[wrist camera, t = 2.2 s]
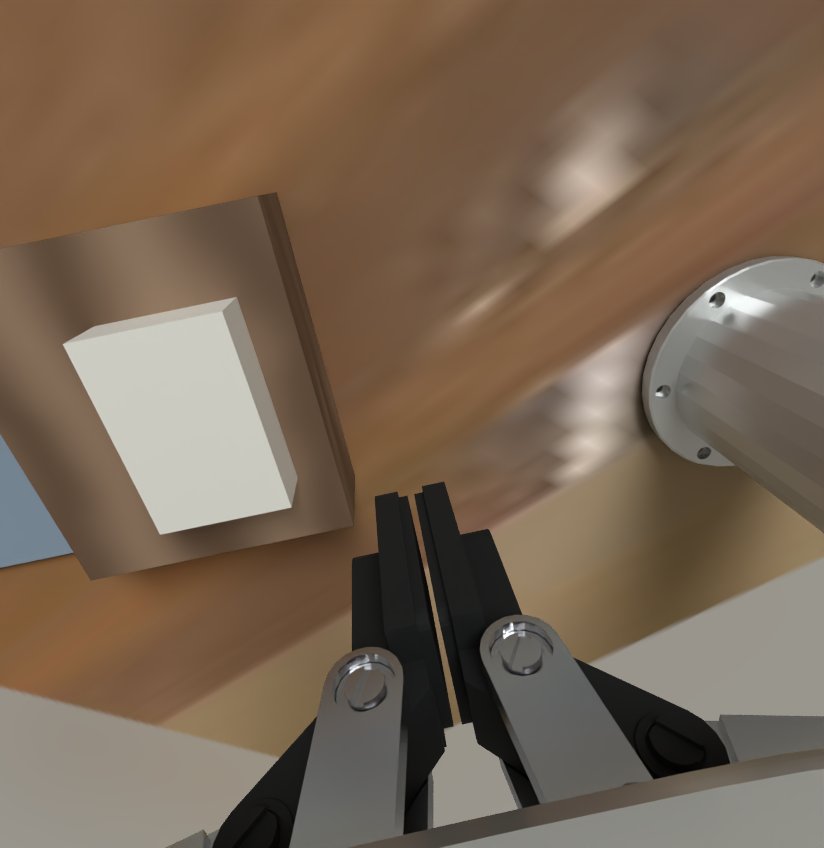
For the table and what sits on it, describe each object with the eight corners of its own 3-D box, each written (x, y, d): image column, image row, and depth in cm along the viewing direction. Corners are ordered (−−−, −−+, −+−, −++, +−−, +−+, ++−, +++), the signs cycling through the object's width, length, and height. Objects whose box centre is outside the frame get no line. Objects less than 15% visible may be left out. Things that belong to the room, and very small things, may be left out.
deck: (276, 192, 24) (257, 196, 20) (354, 475, 31) (353, 525, 27) (-16, 252, 24) (-102, 269, 20) (129, 522, 31) (90, 580, 27)
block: (236, 296, 21) (222, 311, 19) (297, 477, 25) (291, 507, 23) (94, 326, 21) (62, 344, 19) (177, 502, 25) (160, 534, 23)
